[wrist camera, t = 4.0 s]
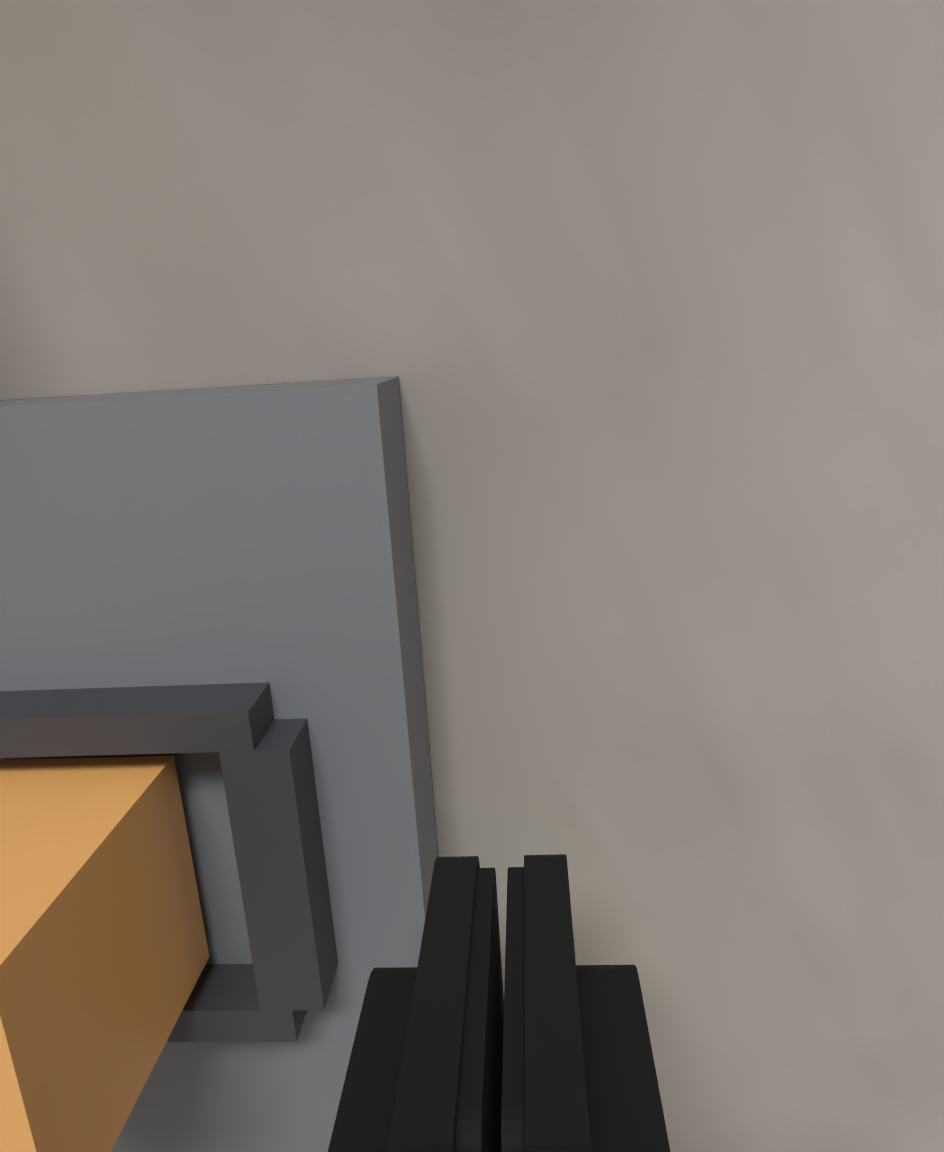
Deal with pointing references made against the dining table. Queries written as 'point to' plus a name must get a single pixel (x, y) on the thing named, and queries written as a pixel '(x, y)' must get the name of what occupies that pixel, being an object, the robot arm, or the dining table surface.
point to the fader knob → (90, 943)
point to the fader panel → (237, 707)
